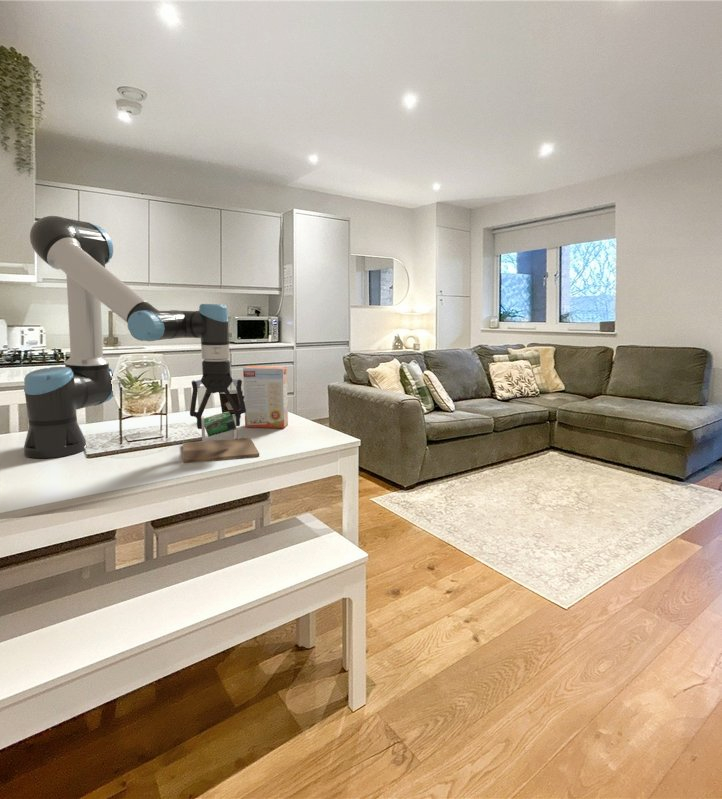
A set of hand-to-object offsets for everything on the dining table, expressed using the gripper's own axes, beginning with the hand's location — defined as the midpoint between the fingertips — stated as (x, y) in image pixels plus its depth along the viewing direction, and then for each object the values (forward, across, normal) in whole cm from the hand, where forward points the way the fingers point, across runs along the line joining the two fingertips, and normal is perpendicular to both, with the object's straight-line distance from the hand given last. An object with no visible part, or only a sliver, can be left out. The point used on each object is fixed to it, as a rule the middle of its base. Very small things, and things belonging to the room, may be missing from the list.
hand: (219, 438), depth 143 cm
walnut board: (+4, 0, 0) cm, 4 cm away
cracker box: (+4, +18, +26) cm, 32 cm away
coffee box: (-5, 0, -8) cm, 9 cm away
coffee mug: (+4, +9, +42) cm, 43 cm away
